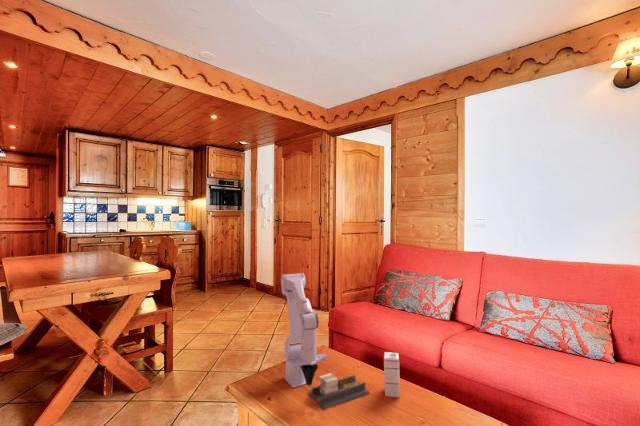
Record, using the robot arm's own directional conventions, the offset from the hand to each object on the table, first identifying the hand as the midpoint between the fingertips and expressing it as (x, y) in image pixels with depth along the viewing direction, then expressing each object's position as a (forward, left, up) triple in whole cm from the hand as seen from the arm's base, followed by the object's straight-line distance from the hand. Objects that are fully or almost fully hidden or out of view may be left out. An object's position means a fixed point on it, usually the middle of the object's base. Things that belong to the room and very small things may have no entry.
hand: (308, 384), depth 115 cm
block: (0, +8, -6) cm, 10 cm away
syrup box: (+10, +31, -7) cm, 33 cm away
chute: (0, +13, -7) cm, 15 cm away
